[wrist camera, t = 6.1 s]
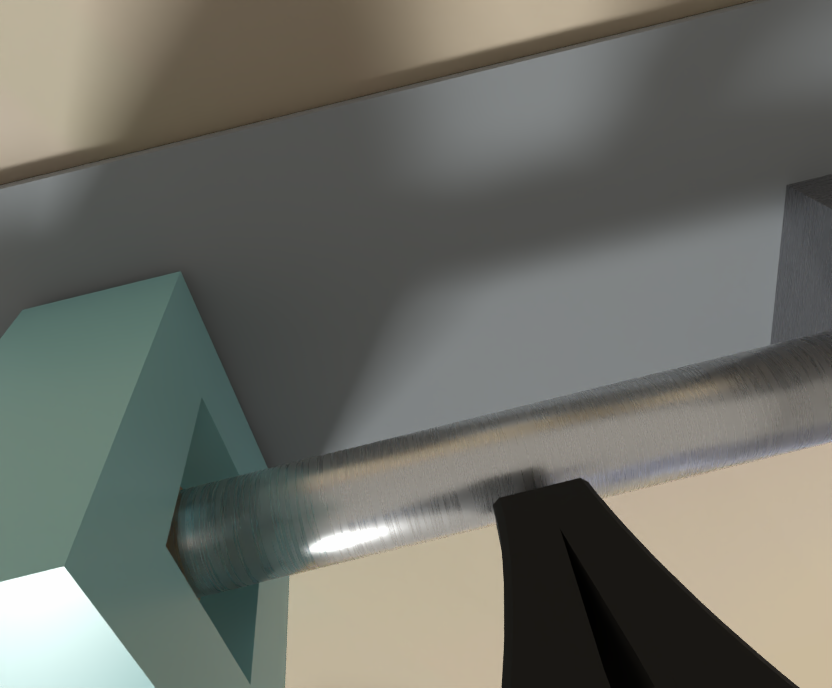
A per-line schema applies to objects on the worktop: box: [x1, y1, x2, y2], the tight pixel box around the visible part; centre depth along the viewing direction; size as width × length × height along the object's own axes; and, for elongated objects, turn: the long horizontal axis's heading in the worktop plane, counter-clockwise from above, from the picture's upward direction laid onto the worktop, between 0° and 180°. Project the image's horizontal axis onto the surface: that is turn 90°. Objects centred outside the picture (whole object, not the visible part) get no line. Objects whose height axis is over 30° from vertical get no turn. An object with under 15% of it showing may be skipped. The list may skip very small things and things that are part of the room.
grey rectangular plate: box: [0, 0, 832, 468], centre depth 15 cm, size 21×11×1 cm, turn 102°
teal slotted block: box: [0, 271, 289, 688], centre depth 11 cm, size 3×7×7 cm, turn 12°
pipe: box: [166, 174, 832, 601], centre depth 13 cm, size 20×4×5 cm, turn 102°
